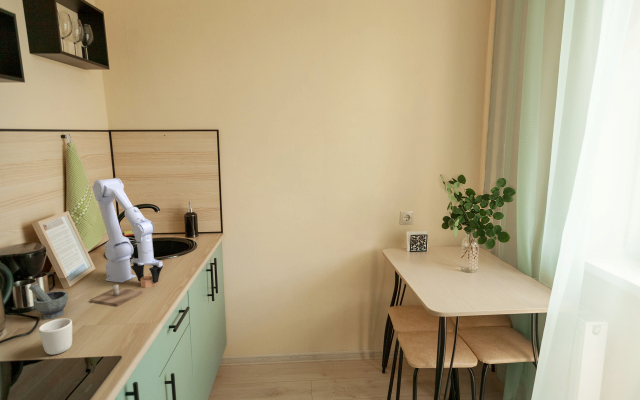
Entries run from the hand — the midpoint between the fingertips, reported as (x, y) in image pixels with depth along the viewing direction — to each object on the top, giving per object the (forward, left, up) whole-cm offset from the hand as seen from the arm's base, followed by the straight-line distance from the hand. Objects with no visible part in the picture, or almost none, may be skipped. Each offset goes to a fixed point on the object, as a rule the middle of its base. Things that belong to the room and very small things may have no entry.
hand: (148, 281), depth 157 cm
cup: (+10, -46, -2) cm, 47 cm away
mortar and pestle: (-13, -32, -2) cm, 35 cm away
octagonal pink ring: (0, 0, -1) cm, 1 cm away
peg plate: (-2, -14, -1) cm, 14 cm away
